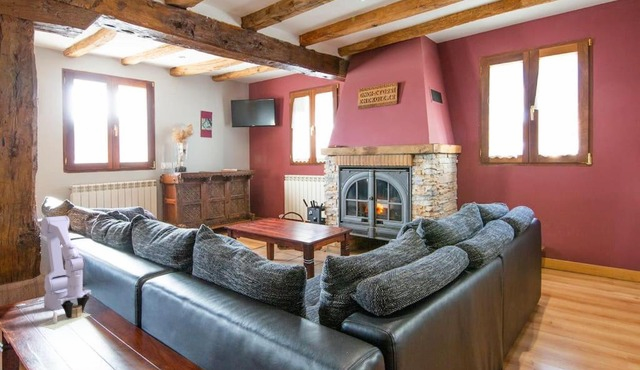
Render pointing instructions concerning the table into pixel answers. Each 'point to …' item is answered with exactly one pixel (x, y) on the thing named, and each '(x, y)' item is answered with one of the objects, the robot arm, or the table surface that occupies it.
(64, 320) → the board
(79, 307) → the bead
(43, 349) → the table surface
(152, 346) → the table surface
